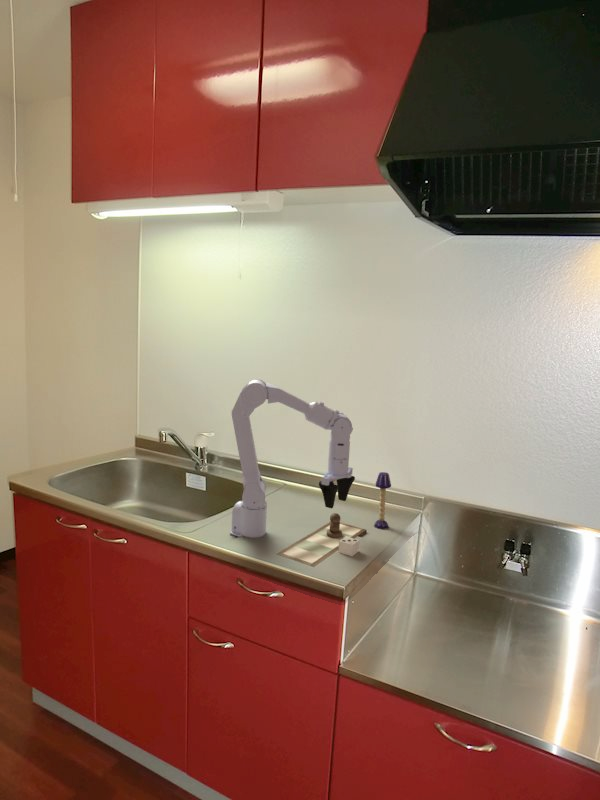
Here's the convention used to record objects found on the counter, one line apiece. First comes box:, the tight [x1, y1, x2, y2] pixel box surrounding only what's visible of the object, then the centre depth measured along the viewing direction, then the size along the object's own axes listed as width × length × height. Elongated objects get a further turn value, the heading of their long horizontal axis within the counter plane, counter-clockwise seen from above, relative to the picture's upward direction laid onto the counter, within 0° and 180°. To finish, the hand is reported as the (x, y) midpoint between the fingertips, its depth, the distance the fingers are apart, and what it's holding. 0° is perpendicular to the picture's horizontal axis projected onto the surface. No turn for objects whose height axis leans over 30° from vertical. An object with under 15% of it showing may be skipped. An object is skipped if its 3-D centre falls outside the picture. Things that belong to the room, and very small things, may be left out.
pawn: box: [327, 512, 342, 538], centre depth 148 cm, size 4×4×6 cm
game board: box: [276, 521, 367, 568], centre depth 144 cm, size 11×30×1 cm, turn 147°
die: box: [337, 536, 360, 557], centre depth 138 cm, size 4×4×4 cm
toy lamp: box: [373, 471, 392, 530], centre depth 158 cm, size 5×5×17 cm
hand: (335, 503), depth 148 cm, fingers open, 7 cm apart
